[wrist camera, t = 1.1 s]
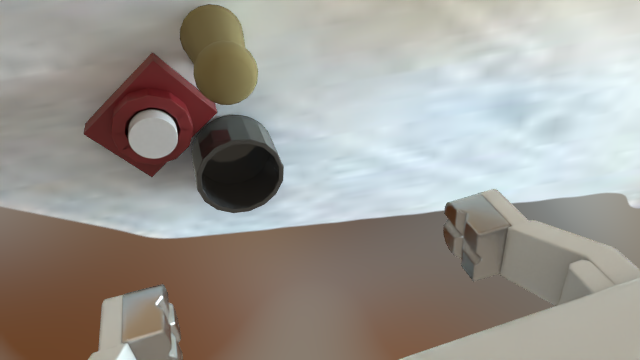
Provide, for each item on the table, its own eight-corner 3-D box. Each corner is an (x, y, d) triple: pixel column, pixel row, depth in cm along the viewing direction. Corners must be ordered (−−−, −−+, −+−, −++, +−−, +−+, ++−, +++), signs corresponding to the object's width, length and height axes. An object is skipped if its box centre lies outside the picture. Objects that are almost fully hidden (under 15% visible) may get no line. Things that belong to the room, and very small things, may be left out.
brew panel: (84, 123, 49) (81, 143, 46) (152, 52, 47) (153, 67, 44) (151, 166, 54) (152, 187, 51) (214, 103, 52) (220, 120, 49)
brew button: (118, 132, 47) (117, 141, 46) (149, 100, 46) (149, 108, 45) (156, 157, 50) (156, 166, 48) (186, 127, 49) (187, 136, 47)
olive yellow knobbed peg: (184, 68, 49) (195, 120, 41) (175, 6, 46) (185, 48, 37) (245, 63, 51) (268, 111, 42) (241, 2, 47) (265, 41, 39)
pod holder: (174, 155, 54) (177, 184, 50) (231, 99, 52) (240, 123, 48) (233, 196, 60) (241, 225, 55) (287, 146, 58) (300, 171, 54)
